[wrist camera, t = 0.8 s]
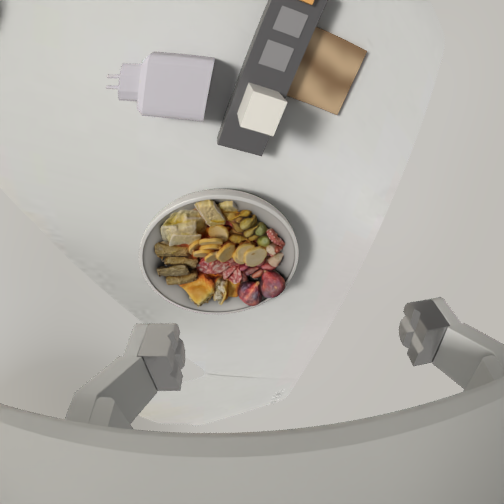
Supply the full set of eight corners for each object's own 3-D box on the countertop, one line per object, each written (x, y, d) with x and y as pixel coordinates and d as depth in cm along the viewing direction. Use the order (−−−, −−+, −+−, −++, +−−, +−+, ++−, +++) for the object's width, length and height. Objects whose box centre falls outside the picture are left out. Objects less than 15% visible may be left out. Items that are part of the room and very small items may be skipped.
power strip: (279, -26, 31) (285, -30, 28) (324, -8, 33) (333, -9, 30) (217, 137, 48) (217, 146, 45) (259, 148, 50) (262, 158, 47)
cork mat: (313, 26, 37) (315, 26, 36) (364, 50, 39) (367, 51, 39) (284, 94, 44) (285, 95, 43) (335, 113, 47) (337, 114, 46)
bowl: (126, 273, 65) (120, 301, 59) (176, 153, 49) (171, 176, 43) (247, 310, 77) (250, 336, 71) (323, 218, 61) (335, 244, 55)
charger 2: (247, 80, 41) (253, 91, 35) (276, 89, 42) (287, 102, 36) (236, 110, 44) (240, 126, 38) (265, 119, 45) (273, 136, 39)
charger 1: (114, 49, 36) (214, 57, 39) (109, 106, 42) (204, 114, 45) (104, 53, 32) (214, 60, 36) (100, 115, 38) (203, 123, 42)
